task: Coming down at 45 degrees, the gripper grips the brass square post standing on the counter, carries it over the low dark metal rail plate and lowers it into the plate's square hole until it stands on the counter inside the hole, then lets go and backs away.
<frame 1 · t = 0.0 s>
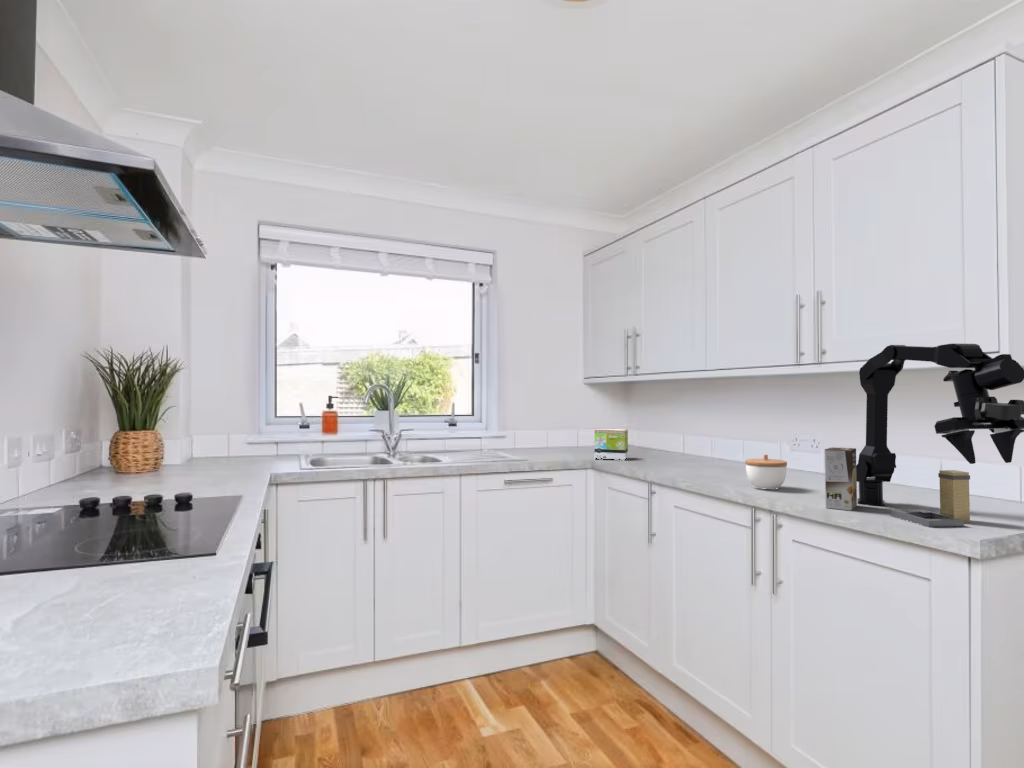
hand: (990, 463, 124), 15 cm above the worktop, tool pointing down, fingers open, 9 cm apart
rail plate: (929, 521, 135), on the worktop
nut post: (955, 520, 136), on the worktop
lidded bowl: (766, 488, 185), on the worktop
tea box: (611, 459, 270), on the worktop
coffee box: (841, 507, 153), on the worktop
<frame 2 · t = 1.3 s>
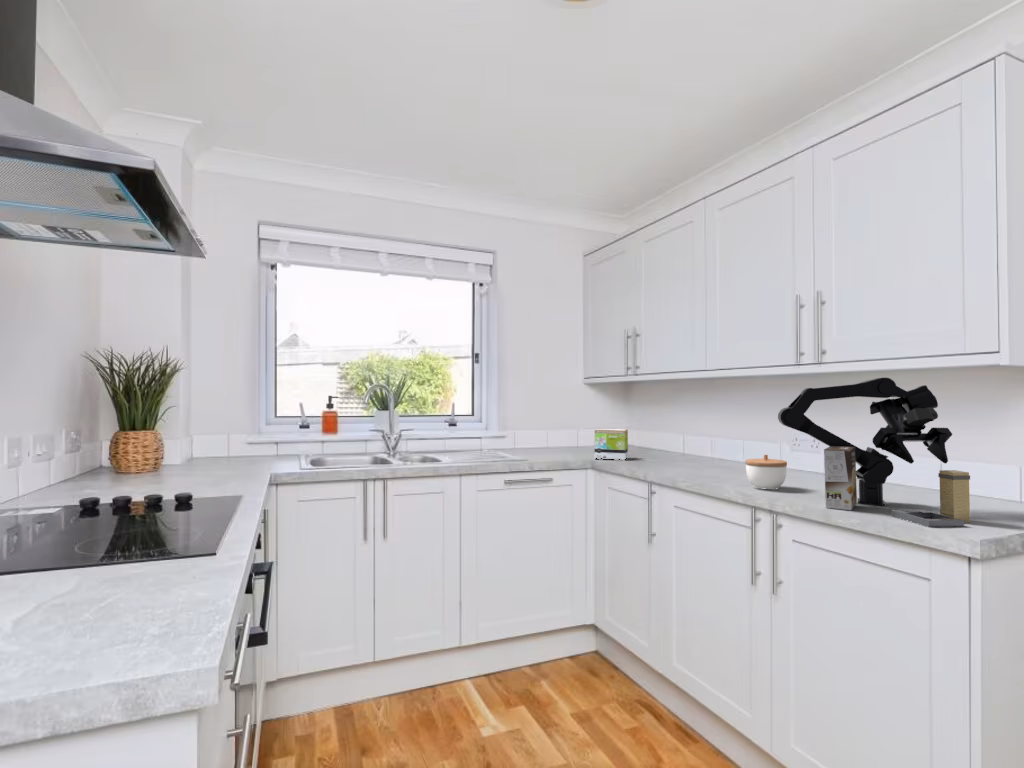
hand: (929, 462, 144), 13 cm above the worktop, tool tilted 45°, fingers open, 9 cm apart
coffee box: (841, 506, 153), on the worktop, touching arm
everything else where it was.
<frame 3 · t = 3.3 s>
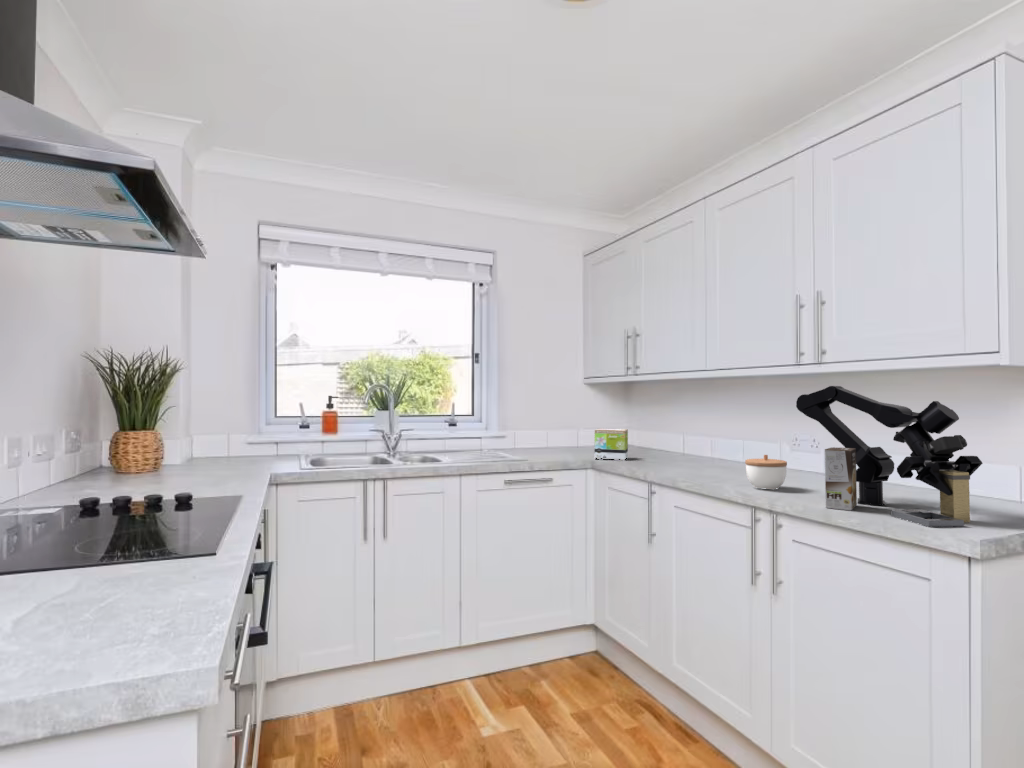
hand: (959, 494, 135), 7 cm above the worktop, tool tilted 45°, fingers closed on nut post, 4 cm apart
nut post: (955, 520, 136), on the worktop, touching gripper
coffee box: (841, 507, 153), on the worktop
everything else where it was.
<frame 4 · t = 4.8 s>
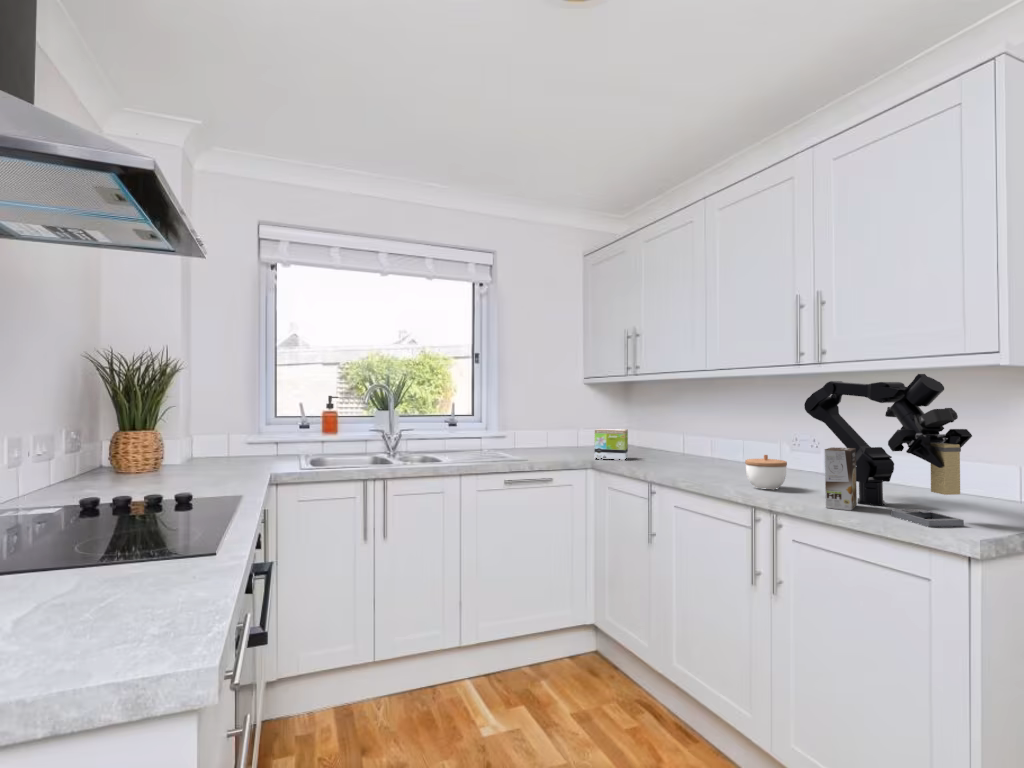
hand: (949, 466, 134), 13 cm above the worktop, tool tilted 45°, fingers closed on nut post, 4 cm apart
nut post: (945, 493, 136), point 7 cm above the worktop, touching gripper
everything else where it was.
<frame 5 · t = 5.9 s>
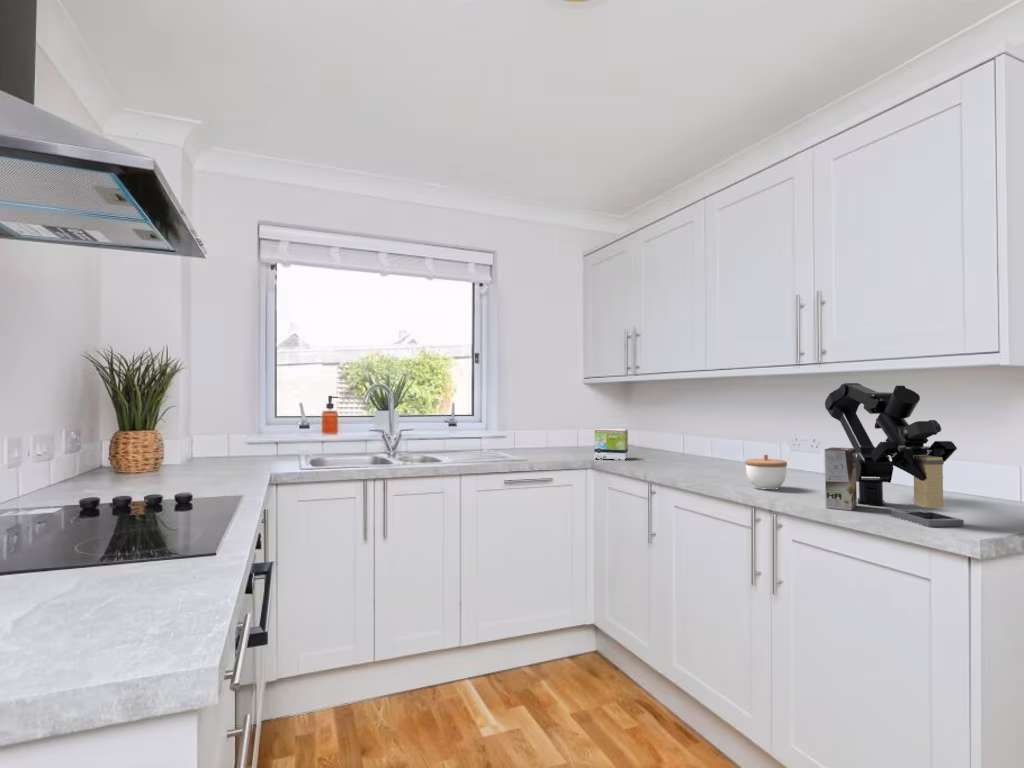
hand: (932, 479, 134), 10 cm above the worktop, tool tilted 45°, fingers closed on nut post, 4 cm apart
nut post: (928, 506, 135), point 4 cm above the worktop, touching gripper
everything else where it was.
when the fingers open (9 cm above the worktop, at t = 6.6 s): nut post drops 2 cm, resting in rail plate.
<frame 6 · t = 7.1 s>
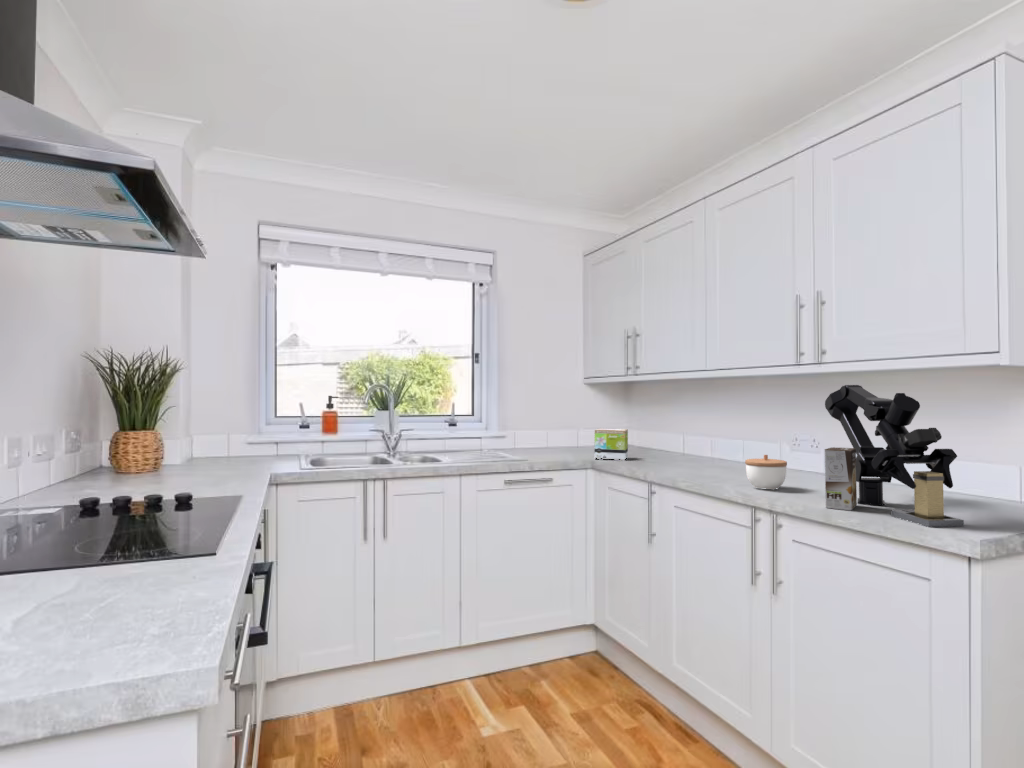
hand: (933, 487, 133), 9 cm above the worktop, tool tilted 45°, fingers open, 9 cm apart
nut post: (929, 522, 135), resting in rail plate
everything else where it was.
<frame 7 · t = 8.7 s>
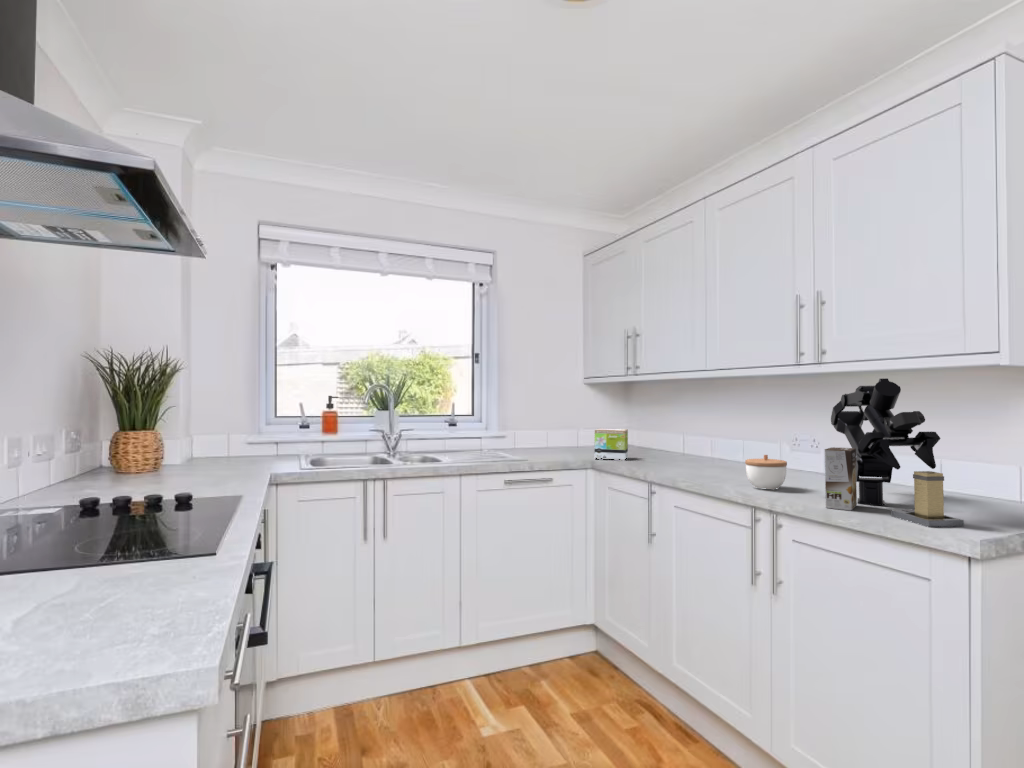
hand: (916, 468, 138), 13 cm above the worktop, tool tilted 45°, fingers open, 9 cm apart
nothing on the worktop moved.
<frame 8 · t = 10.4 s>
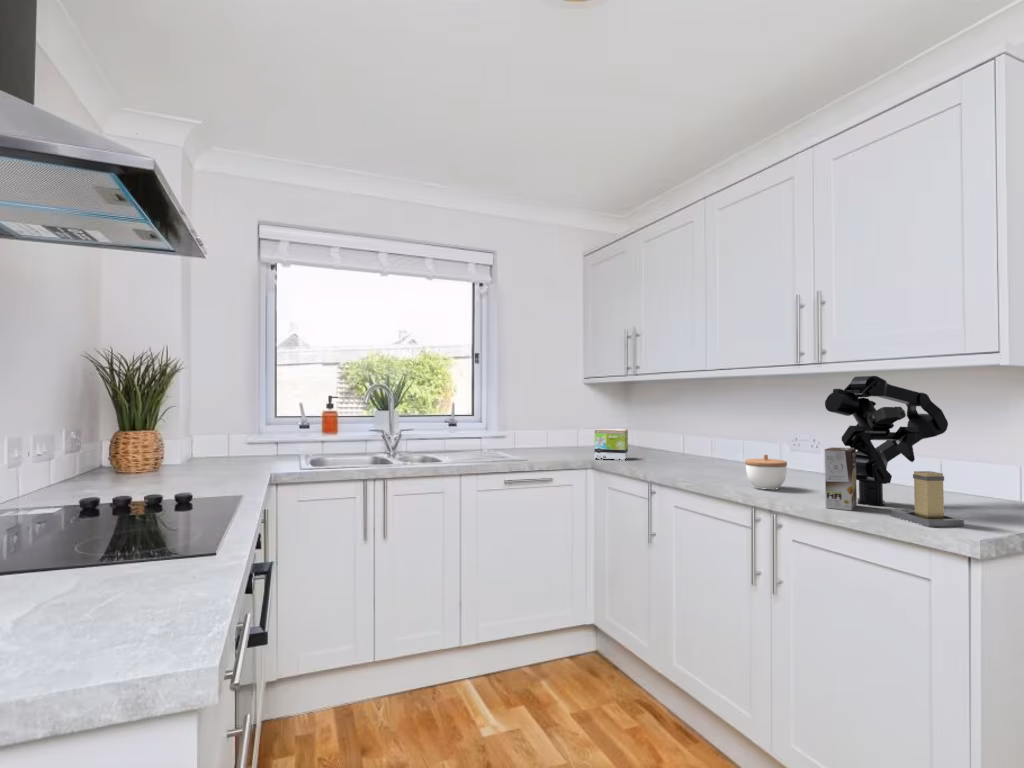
hand: (896, 460, 145), 14 cm above the worktop, tool tilted 45°, fingers open, 9 cm apart
nothing on the worktop moved.
at the end: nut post 0.0 cm off-centre on the rail plate, point 0.0 cm above the rail plate's base; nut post tilted 0°; the gripper is holding nothing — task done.
